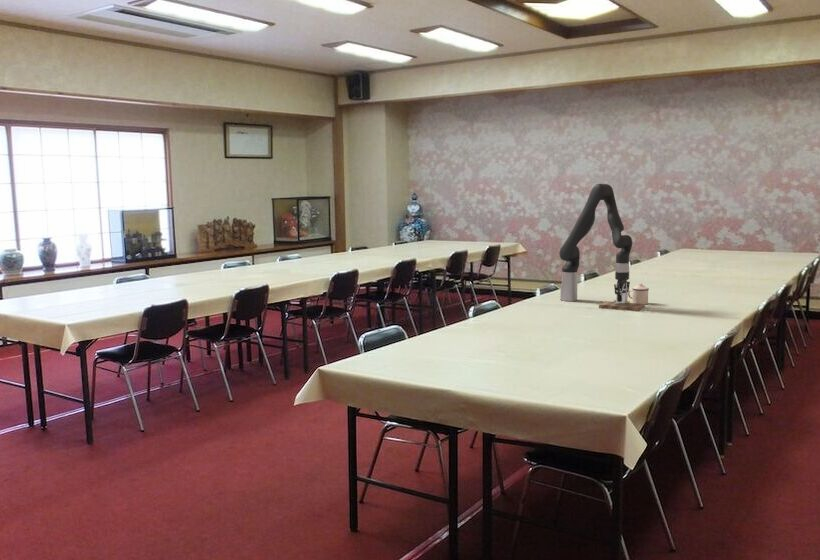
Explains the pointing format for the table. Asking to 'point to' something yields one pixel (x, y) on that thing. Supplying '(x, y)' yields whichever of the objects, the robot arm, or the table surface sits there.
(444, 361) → the table surface
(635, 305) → the walnut base
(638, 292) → the teacup with lid
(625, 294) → the white block
